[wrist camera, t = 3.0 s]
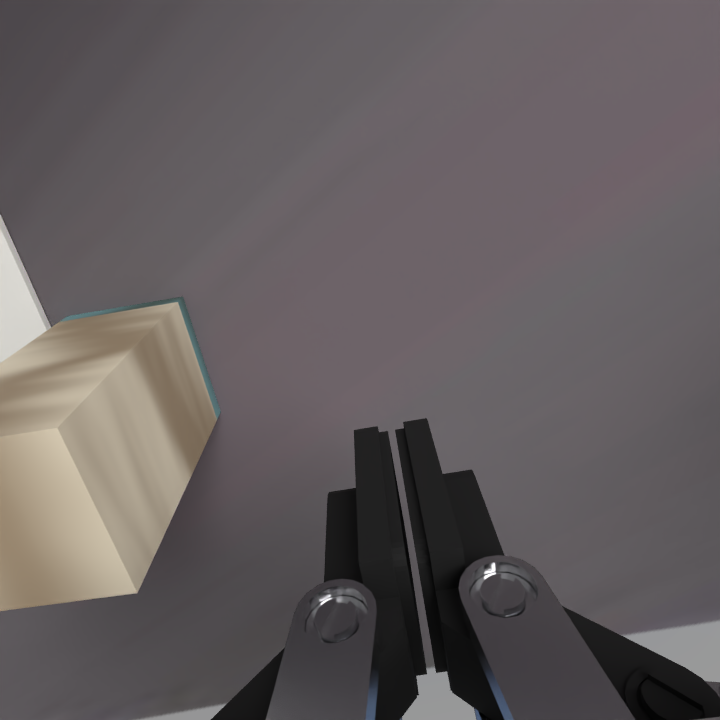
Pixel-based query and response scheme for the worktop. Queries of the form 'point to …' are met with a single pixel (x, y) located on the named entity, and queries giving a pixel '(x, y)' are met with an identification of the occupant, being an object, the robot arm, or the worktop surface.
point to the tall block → (97, 450)
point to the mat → (17, 301)
